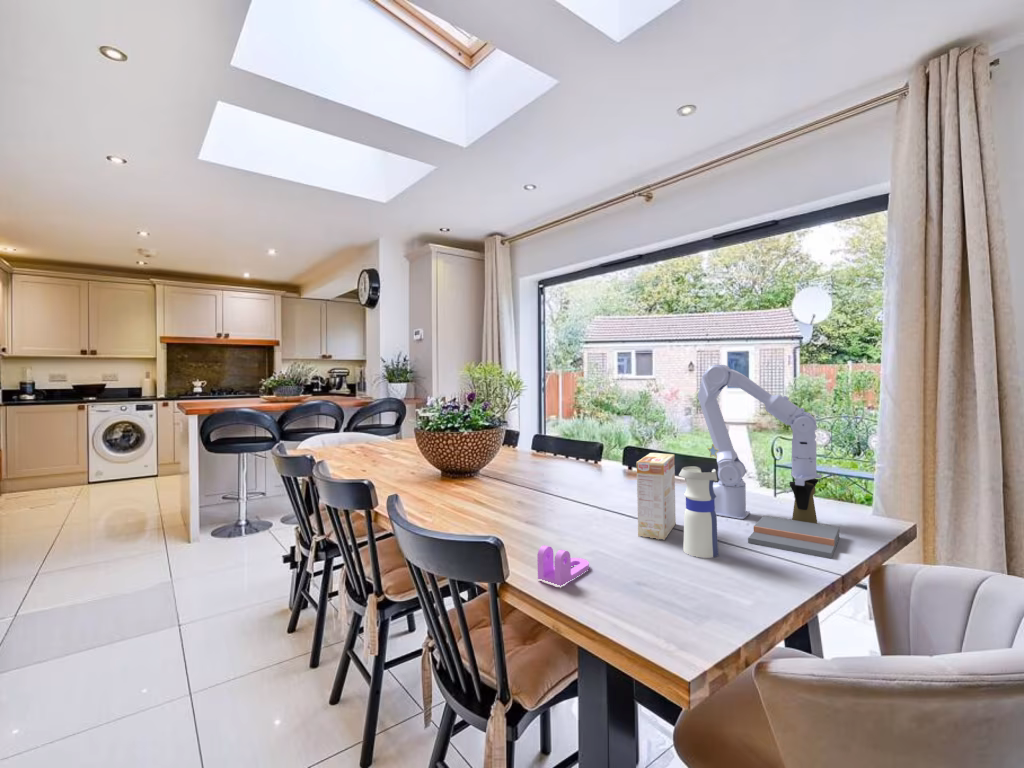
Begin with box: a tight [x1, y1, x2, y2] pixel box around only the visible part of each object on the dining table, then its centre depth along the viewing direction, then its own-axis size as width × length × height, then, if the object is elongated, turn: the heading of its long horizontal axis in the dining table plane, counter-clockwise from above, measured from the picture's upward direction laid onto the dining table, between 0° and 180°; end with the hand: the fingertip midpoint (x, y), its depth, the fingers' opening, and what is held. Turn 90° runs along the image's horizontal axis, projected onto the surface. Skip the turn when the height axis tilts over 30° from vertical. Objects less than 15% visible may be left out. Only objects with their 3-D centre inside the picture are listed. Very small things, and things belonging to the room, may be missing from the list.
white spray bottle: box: [678, 443, 719, 559], centre depth 112 cm, size 8×9×25 cm
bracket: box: [536, 544, 590, 586], centre depth 101 cm, size 13×6×7 cm, turn 141°
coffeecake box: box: [636, 452, 677, 541], centre depth 127 cm, size 15×7×20 cm, turn 150°
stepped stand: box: [747, 515, 840, 559], centre depth 118 cm, size 17×17×3 cm
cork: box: [791, 482, 819, 524], centre depth 130 cm, size 6×6×11 cm
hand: (804, 507), depth 130 cm, fingers closed on cork, 5 cm apart
